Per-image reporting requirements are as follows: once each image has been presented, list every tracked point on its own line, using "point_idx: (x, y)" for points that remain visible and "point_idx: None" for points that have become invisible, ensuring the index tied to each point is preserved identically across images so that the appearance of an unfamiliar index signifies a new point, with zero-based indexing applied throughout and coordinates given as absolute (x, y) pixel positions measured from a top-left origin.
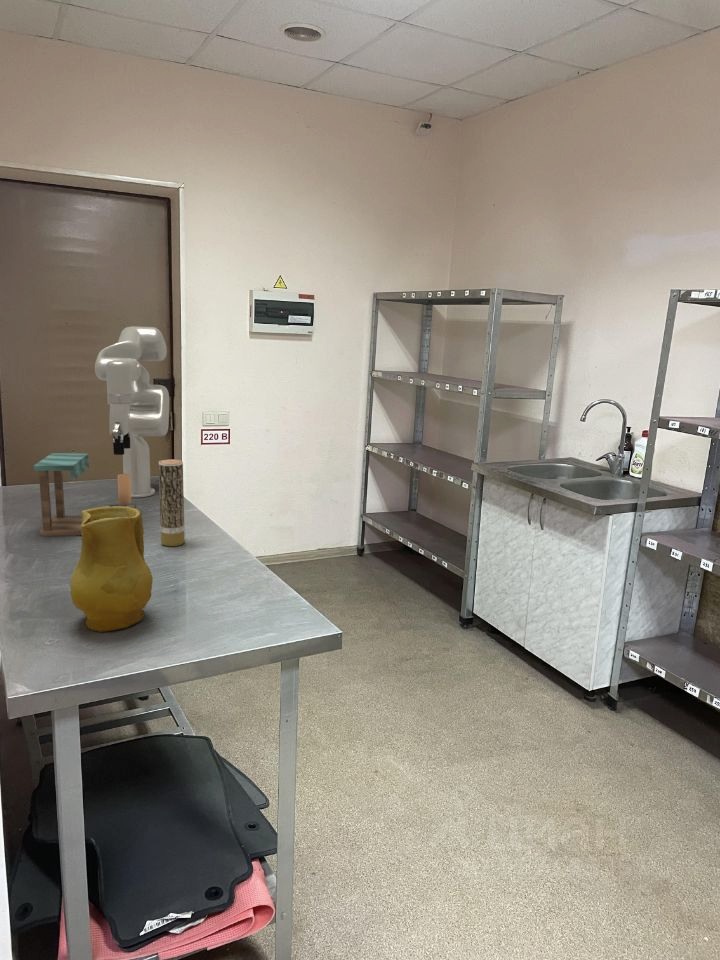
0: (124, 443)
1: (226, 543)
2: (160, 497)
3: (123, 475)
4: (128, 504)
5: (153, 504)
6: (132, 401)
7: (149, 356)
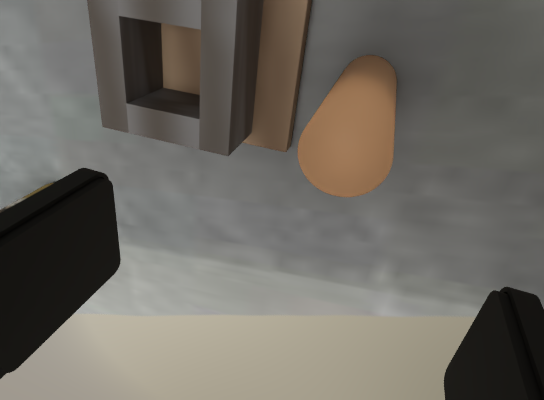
0: (479, 394)
1: (86, 306)
2: None
3: (339, 151)
4: (214, 123)
5: (534, 211)
6: None
7: None
